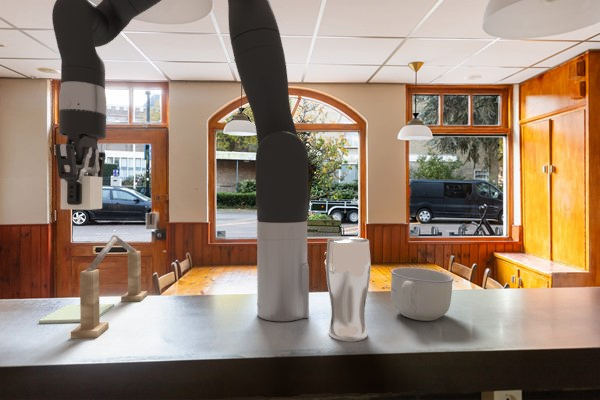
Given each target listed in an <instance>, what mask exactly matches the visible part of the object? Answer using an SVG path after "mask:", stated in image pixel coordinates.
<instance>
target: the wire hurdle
mask: <svg viewBox="0 0 600 400" xmlns="http://www.w3.org/2000/svg"><path fill="white" fill-rule="evenodd" d="M115 243H116V244H117V245H119V246H120V247H122V248H123V249H125V250H127V251H128V252H127V292H125V293H124V294H122V295H121V297H120V302H142V301H143V300H145V298H146V297H148V291H147V290H143V291H142V268H141V267H142V266H141V265H142V260H141V259H142V254H141V253H142V252H141V250H137V249H136V248H134V246H131V245H130V244H128V243H127V242H126V241H124V240H123V239H121V238H120V237H119V236H118V235H116V234H115V235H112V236H111V237H110V240H108V242H107V243H106V245H104V246H103V248H102V249H101V251H100V252H99V253H98V255H97V256H96V257H95V259H93V261H92V262H91V263H90V264H89V266H88V267H87V268H86V269H84V270H82V271H80V272H79V289H80V290H79V294H80V295H79V299H80V302H79V303H80V304H79V305H80V314H81V322H80V325H78V326H77V327H75V328H74V329H72V330H71V331H70V339H83V338H84V339H86V338H87V339H88V338H99V337H100V336H101V335H102V334H103V333H105V332H106V331H108V329H109V322H108V321H107V322H102V321H101V320H100V318H101V317H99V304H100V269H96V268H97V267H98V266H99V265H100V263H101V262H102V261H103V259H104V258H105V257H106V255H107V254H108V253H109V251H110V250H111V249H112V247H113V246H114V245H115ZM100 321H101V322H100Z"/></svg>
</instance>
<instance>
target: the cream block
mask: <svg viewBox="0 0 600 400" xmlns="http://www.w3.org/2000/svg"><path fill="white" fill-rule="evenodd" d="M102 178H103V179H104V176H103V177H94V176H83V180H82V183H79V184H82V203H81V204H80V205H69V204H68V203H67V183H65V180H64V179H60V206H59V207H60V209H59V210H74V211H75V210H77V211H78V210H82V211H83V210H85V211H87V210H88V211H92V210H101V209H103V180H102Z"/></svg>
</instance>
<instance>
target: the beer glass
mask: <svg viewBox="0 0 600 400" xmlns="http://www.w3.org/2000/svg"><path fill="white" fill-rule="evenodd" d="M326 241H327V243H326V246H327V247H326V257H325V258H326V259H325V272H326V273H325V274H326V284H327V289H328V295H329V302H330V312H331V313H330V314H331V316H330V323H329V328H328V335H329V336H330V337H331V338H332V339H333V340H337V341H340V342H348V343H349V342H360V341H363V340H365V339H367V337H368V334H369V333H368V327H367V323H366V322H367V321H366V306H367V305H366V304H367V299H368V294H369V287H370V281H371V270H372V269H371V252H370V251H371V250H370V240H369V239H368V238H361V237H331V238H328V239H327V240H326Z"/></svg>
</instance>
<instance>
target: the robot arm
mask: <svg viewBox="0 0 600 400" xmlns="http://www.w3.org/2000/svg"><path fill="white" fill-rule="evenodd" d="M161 1H162V0H102V1H100V3H99V4H97V5H95V4H94V3H93V2H91V1H90V0H55V2H54V5H53V7H52V14H51V15H52V16H51V17H52V18H51V19H52V26H53V27H52V28H53V31H54V36H55V41H56V45H57V49H58V53H59V55H60V59H61V66H60V67H61V71H60V91H59V96H58V97H59V98H58V100H59V101H58V104H59V105H58V134H59V136H61V137H63V138H64V137H65V138H66V141H65V143H55V154H56V155H55V156H56V157H55V158H56V164H57V172H58V178H59V179H60V180H61V179H64V180H65V183H67V203H68V204H69V205H80V204H81V203H82V184H79V183H82V180H83V176H94V177H103V178H102V181H103V180H104V171H105V163H106V155H107V154H106V152H104V151H102V152H101V151H99V146H98V141H99V140H100V141H101V140H104V139H106V138H107V137H106V136H107V97H106V66H105V62H104V60H103V59H102V58H101V56H100V55H99V53H98V51H97V50H96V48H98V47H99V48H100V47H103V46H106V45H108V44H109V43H111V42H112V41H113V40H115V38H116V37H118V36H119V34H121V33H122V32H123V30H124V29H125V28H127V26H128V25H129V24H130V22H131V21H132V20H133V19H134V18H135V17H137V16H139V15H141V14H143V13H144V12H146V11H147V10H149V9H150V8H152V7H154V6H155V5H157V4H158V3H160V2H161ZM227 3H228V4H227V7H228V9H227V11H228V12H227V15H228V32H229V38H230V39H229V40H230V44H231V49H232V53H233V57H234V61H235V62H234V63H235V66H236V70H237V73H238V76H239V79H240V83H241V85H242V89H243V92H244V95H245V97H246V100H247V102H248V105H249V108H250V110H251V113H252V116H253V120H254V126H255V127H254V128H255V133H256V139H257V149H256V153H255V205H256V222H257V223H256V234H257V235H256V239H257V241H256V244H257V245H256V250H257V253H256V255H257V257H256V260H257V262H256V265H257V266H256V267H257V268H256V270H257V275H256V276H257V277H256V278H257V279H256V283H257V287H256V288H257V289H256V290H257V294H256V295H257V299H256V300H257V302H256V303H257V304H256V305H257V317H259V318H260V319H262V320H266V321H272V322H290V321H297V320H300V319H308V318H309V317H310V305H309V304H310V300H309V299H310V292H309V291H310V289H309V288H310V285H309V284H310V281H309V280H310V279H309V278H310V270H309V269H310V265H309V264H308V207H309V205H308V204H309V153H308V149H307V147H306V144H305V143H304V142H303V141H302V139H301V138H300V137H299V135H298V131H297V129H296V126H295V122H294V119H293V114H292V111H291V105H290V103H291V102H290V95H289V82H288V81H289V80H288V78H289V77H288V71H287V62H286V57H285V51H284V46H283V42H282V37H281V33H280V29H279V26H278V23H277V19H276V16H275V12H274V10H273V8H272V5H271V4H270V0H227Z"/></svg>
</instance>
